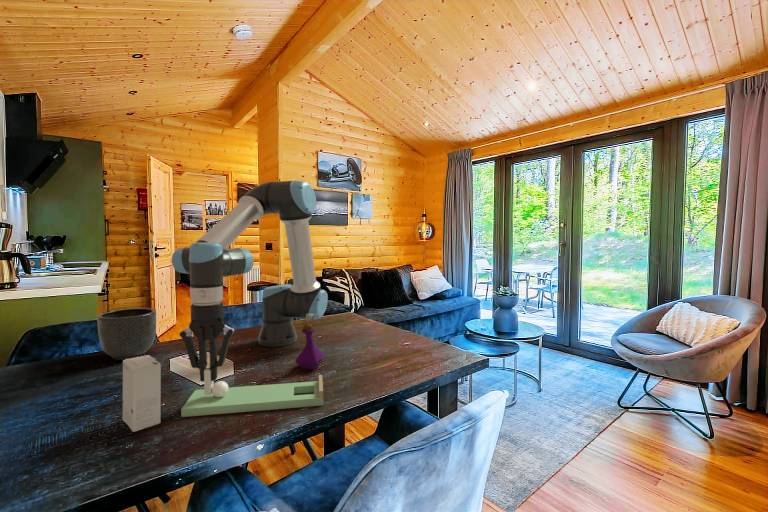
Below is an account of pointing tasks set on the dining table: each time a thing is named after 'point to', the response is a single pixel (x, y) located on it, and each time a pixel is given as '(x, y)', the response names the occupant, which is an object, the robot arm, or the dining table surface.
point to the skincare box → (141, 392)
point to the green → (255, 398)
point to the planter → (127, 332)
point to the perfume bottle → (309, 349)
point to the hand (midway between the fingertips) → (209, 392)
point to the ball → (220, 389)
